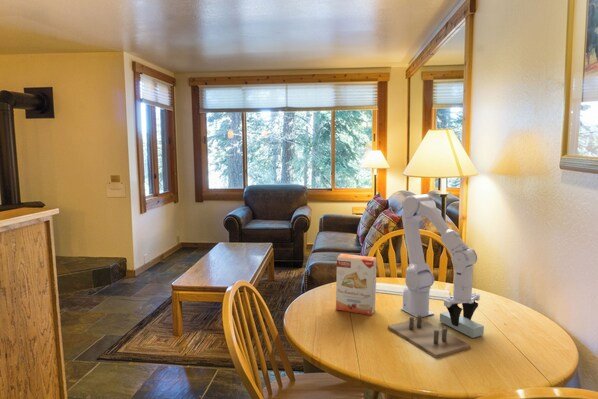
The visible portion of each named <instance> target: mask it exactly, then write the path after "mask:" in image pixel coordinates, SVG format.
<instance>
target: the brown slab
mask: <svg viewBox="0 0 598 399" xmlns="http://www.w3.org/2000/svg"><path fill="white" fill-rule="evenodd" d="M387 329H388V330H390V331H391V332H393V333H394V334H396V335H398V336H400V337H401V338H403V339H404V340H406V341H407V342H409V343H410V344H412V345H414V346H416V347H417V348H419V349H420V350H422V351H423V352H425V353H427V354H428V355H430V356H432V357H433V358H435V359H438V358H441V357H442V358H443V357H445V356H449V355H453V354H456V353H458V352H462V351H466V350H468V349H469V350H470V349H471V346H472V345H471V344H469V343H468V342H466V341H464V340H462V339H460V338H458V337H456V336H454V335H452V334H450V333H449V332H448V329H447V328H446V327H442V328H439V327H437V326H435V325H433V324H431V323H429V322H427V321H425V320H423V317H422V316H421V315H417V317H416V319H415V316H409V320H406V321H402V322H399V323H394V324H390V325H387Z"/></svg>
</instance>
